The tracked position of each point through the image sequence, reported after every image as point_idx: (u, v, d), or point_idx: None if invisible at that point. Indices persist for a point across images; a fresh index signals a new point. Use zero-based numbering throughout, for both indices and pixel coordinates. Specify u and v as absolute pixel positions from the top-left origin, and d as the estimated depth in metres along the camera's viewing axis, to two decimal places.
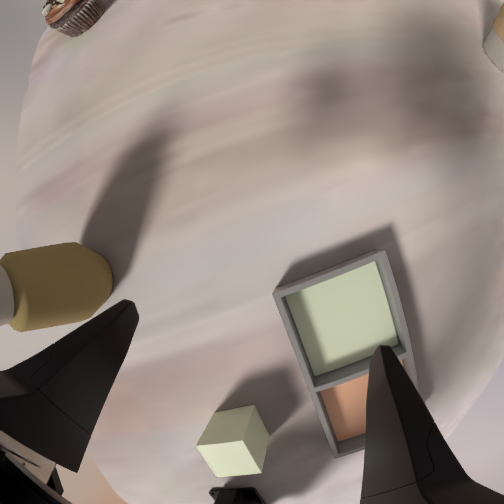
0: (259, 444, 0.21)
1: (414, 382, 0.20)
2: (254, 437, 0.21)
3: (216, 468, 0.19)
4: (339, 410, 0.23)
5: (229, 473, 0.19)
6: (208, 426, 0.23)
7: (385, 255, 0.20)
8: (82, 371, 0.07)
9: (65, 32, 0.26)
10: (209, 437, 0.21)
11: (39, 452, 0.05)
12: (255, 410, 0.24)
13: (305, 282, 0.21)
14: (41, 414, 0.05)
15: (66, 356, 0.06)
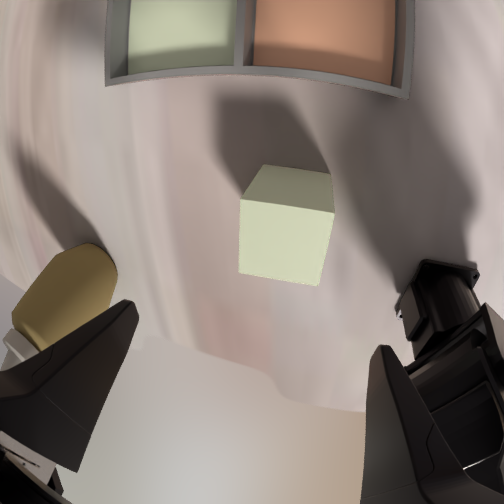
0: (302, 187, 0.15)
1: None
2: (281, 186, 0.15)
3: (296, 274, 0.15)
4: (321, 53, 0.13)
5: (315, 263, 0.14)
6: None
7: None
8: (82, 371, 0.07)
9: None
10: None
11: (39, 452, 0.05)
12: (270, 166, 0.18)
13: (106, 50, 0.13)
14: (41, 414, 0.05)
15: (66, 356, 0.06)
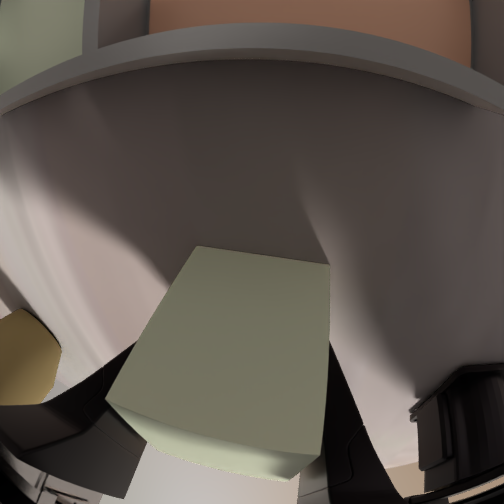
0: (257, 341, 0.06)
1: None
2: (208, 338, 0.06)
3: (248, 473, 0.06)
4: None
5: (279, 474, 0.06)
6: None
7: None
8: None
9: None
10: None
11: (91, 488, 0.04)
12: (208, 254, 0.09)
13: None
14: (95, 449, 0.05)
15: None
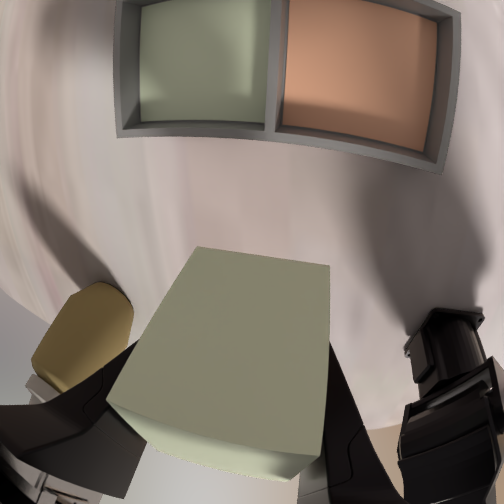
0: (257, 342, 0.06)
1: None
2: (208, 339, 0.06)
3: (248, 474, 0.07)
4: (356, 115, 0.13)
5: (279, 475, 0.06)
6: None
7: None
8: None
9: None
10: None
11: (91, 488, 0.04)
12: (208, 255, 0.09)
13: (115, 96, 0.13)
14: (96, 449, 0.05)
15: None
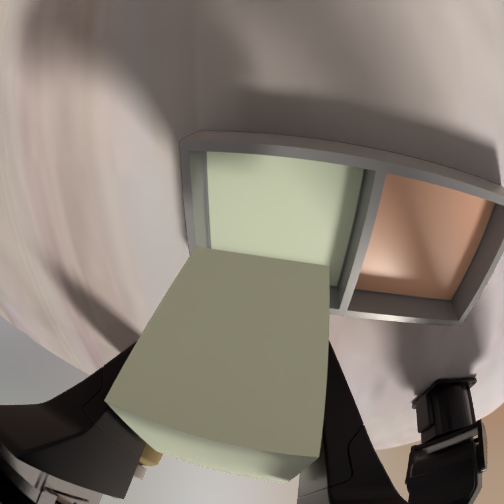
0: (255, 343, 0.06)
1: (443, 183, 0.10)
2: (207, 340, 0.06)
3: (248, 474, 0.06)
4: (408, 281, 0.16)
5: (278, 476, 0.06)
6: None
7: (187, 143, 0.12)
8: None
9: None
10: None
11: (91, 488, 0.04)
12: (207, 255, 0.09)
13: None
14: (95, 449, 0.05)
15: None
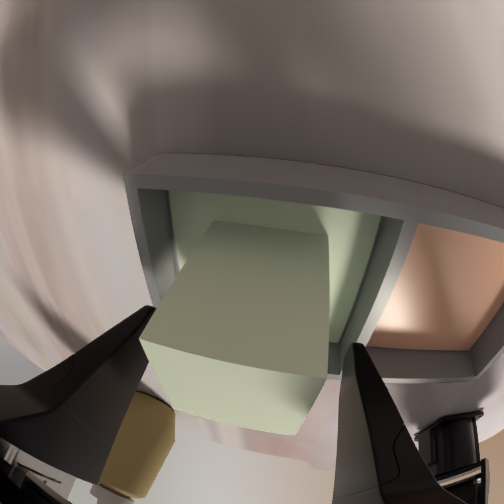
0: (269, 290, 0.08)
1: (489, 234, 0.07)
2: (228, 288, 0.08)
3: (259, 425, 0.08)
4: (424, 336, 0.12)
5: (288, 421, 0.07)
6: None
7: (134, 177, 0.08)
8: (106, 382, 0.07)
9: None
10: None
11: (60, 468, 0.05)
12: (224, 227, 0.11)
13: None
14: (63, 430, 0.05)
15: (89, 368, 0.06)
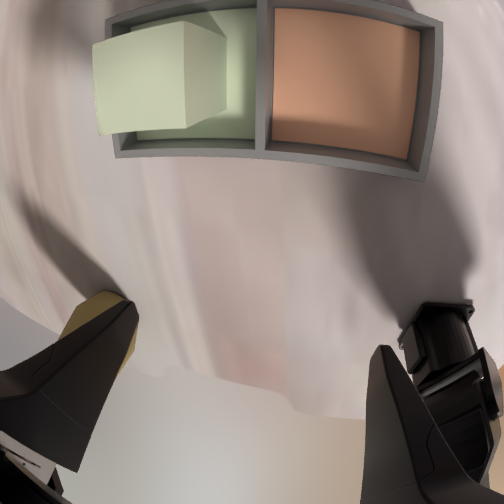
0: None
1: None
2: None
3: (156, 116, 0.10)
4: (341, 128, 0.14)
5: (173, 92, 0.09)
6: None
7: (111, 19, 0.10)
8: (82, 371, 0.07)
9: None
10: None
11: (39, 452, 0.05)
12: None
13: None
14: (41, 414, 0.05)
15: (66, 356, 0.06)
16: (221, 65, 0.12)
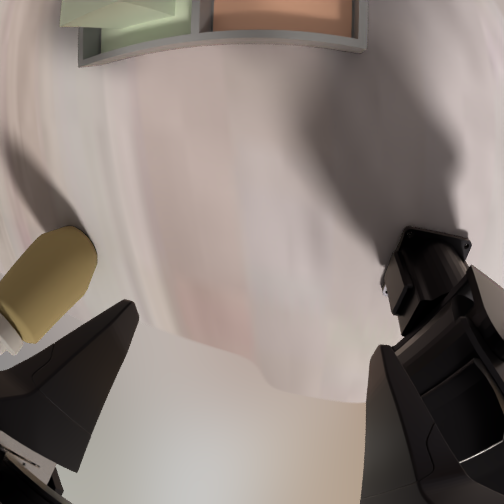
0: None
1: None
2: None
3: None
4: (278, 17, 0.12)
5: None
6: None
7: None
8: (82, 371, 0.07)
9: None
10: None
11: (39, 452, 0.05)
12: None
13: (79, 35, 0.12)
14: (41, 414, 0.05)
15: (66, 356, 0.06)
16: None
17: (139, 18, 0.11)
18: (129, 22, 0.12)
